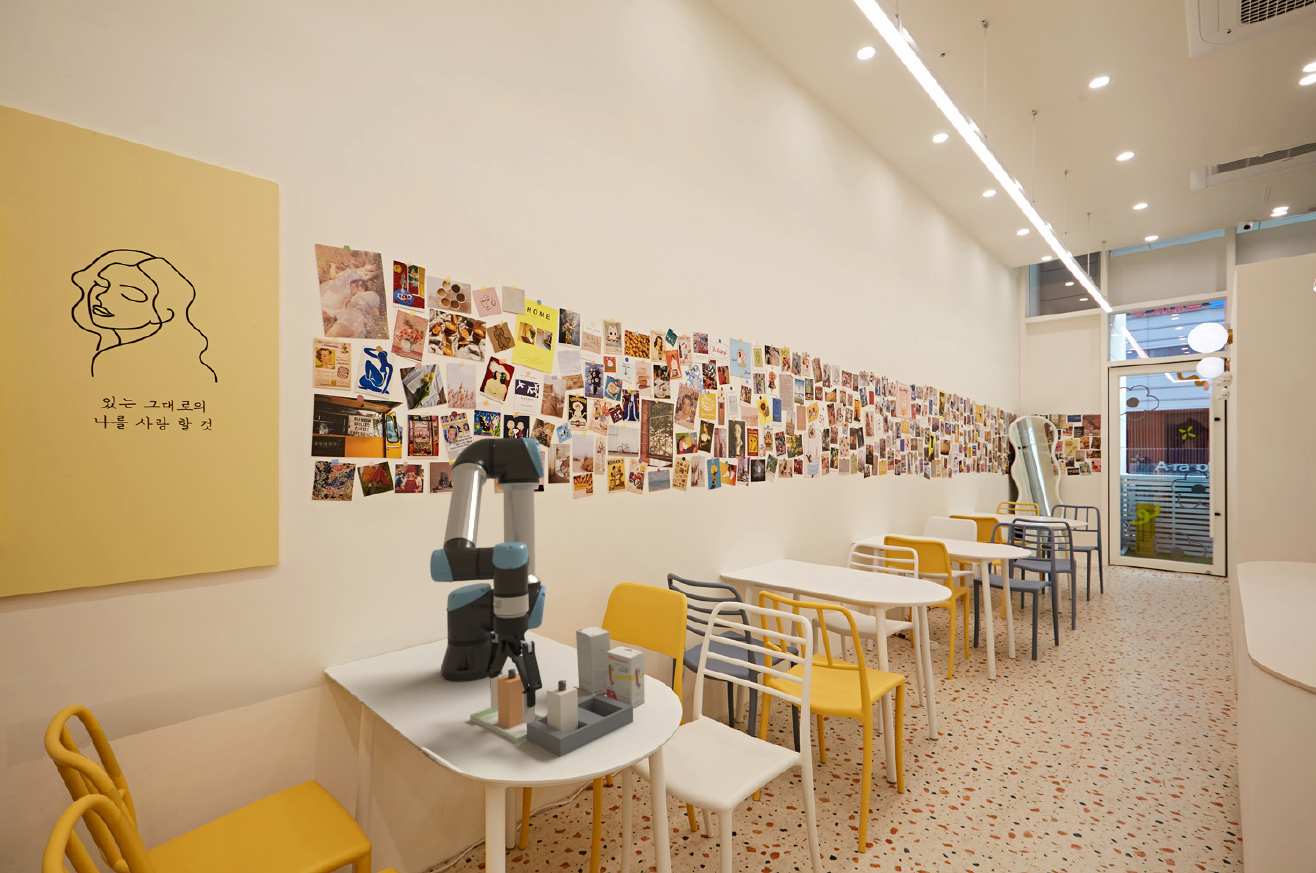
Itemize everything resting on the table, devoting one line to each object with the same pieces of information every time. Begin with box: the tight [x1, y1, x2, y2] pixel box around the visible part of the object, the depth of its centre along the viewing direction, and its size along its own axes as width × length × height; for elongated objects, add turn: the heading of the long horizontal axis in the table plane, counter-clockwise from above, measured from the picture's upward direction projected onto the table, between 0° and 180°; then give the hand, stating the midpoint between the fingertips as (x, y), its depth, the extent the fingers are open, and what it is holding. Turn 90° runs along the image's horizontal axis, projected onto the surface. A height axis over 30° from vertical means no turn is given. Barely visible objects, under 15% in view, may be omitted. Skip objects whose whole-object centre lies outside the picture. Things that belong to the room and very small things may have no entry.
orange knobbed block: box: [497, 668, 524, 729], centre depth 133 cm, size 4×4×12 cm
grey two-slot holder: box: [526, 694, 634, 758], centre depth 128 cm, size 11×20×4 cm, turn 138°
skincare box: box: [575, 626, 611, 696], centre depth 152 cm, size 8×6×15 cm
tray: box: [469, 706, 544, 743], centre depth 132 cm, size 18×10×2 cm, turn 48°
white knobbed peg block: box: [546, 679, 579, 734], centre depth 124 cm, size 4×4×12 cm
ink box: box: [606, 645, 646, 708], centre depth 144 cm, size 9×5×12 cm, turn 49°
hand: (512, 713), depth 132 cm, fingers open, 11 cm apart
